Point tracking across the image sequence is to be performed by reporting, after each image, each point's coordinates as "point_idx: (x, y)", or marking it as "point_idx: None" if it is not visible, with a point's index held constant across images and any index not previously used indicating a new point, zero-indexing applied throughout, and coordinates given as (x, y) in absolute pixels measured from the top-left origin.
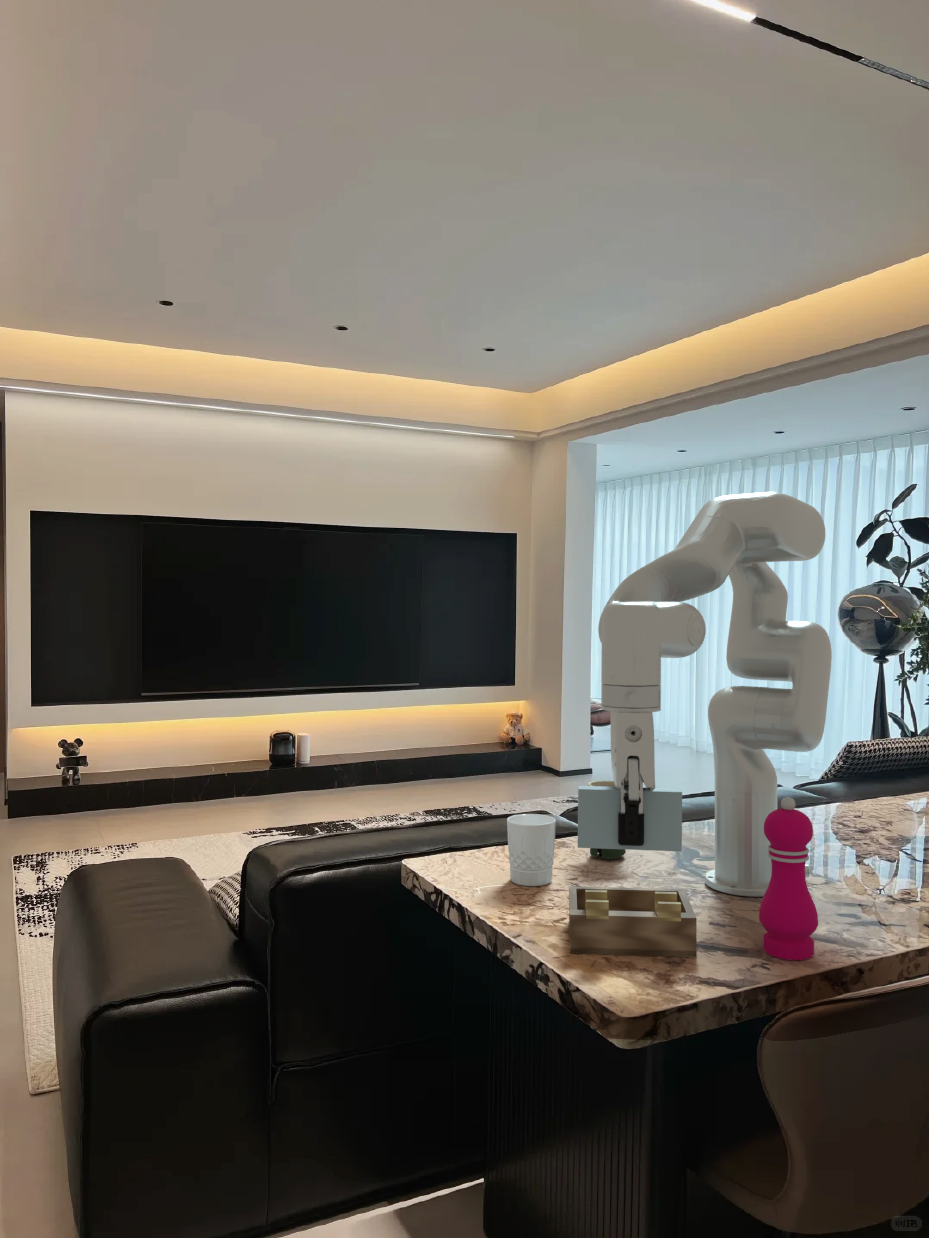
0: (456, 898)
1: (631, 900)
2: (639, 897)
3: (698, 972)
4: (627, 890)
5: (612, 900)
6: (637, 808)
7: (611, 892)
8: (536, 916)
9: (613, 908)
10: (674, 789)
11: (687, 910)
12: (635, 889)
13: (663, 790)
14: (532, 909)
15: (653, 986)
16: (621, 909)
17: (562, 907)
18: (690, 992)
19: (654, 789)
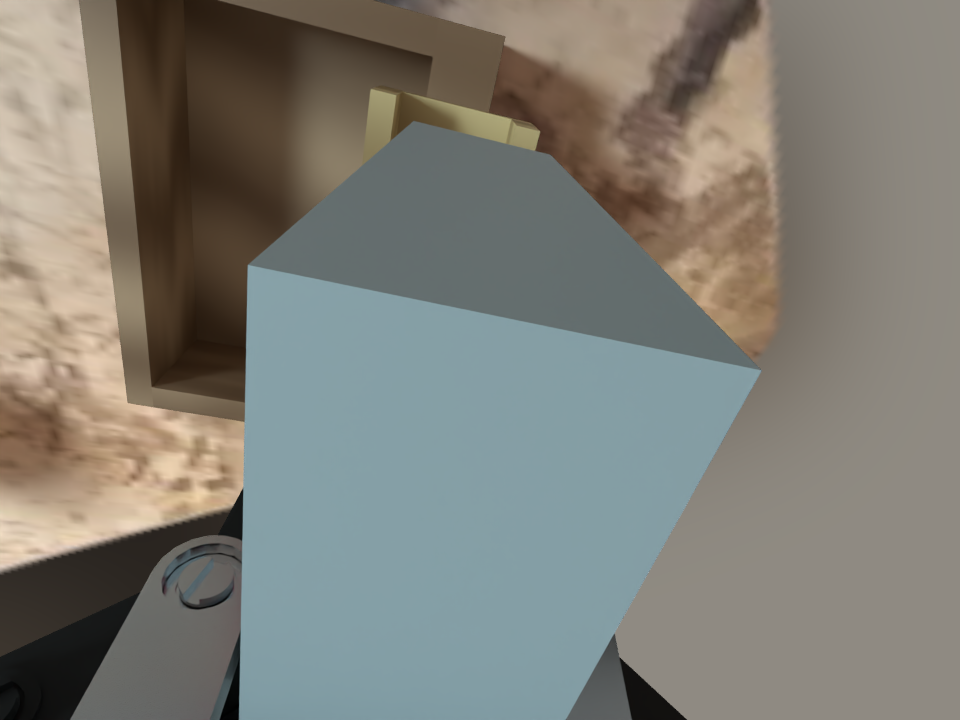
0: (48, 552)
1: (156, 190)
2: (146, 160)
3: (611, 86)
4: (137, 215)
5: (161, 257)
6: (650, 697)
7: (146, 271)
8: (153, 414)
9: (175, 245)
10: (381, 432)
11: (405, 39)
12: (123, 180)
13: (494, 634)
14: (94, 415)
15: (662, 250)
16: (174, 218)
17: (55, 339)
18: (728, 166)
19: (397, 715)
